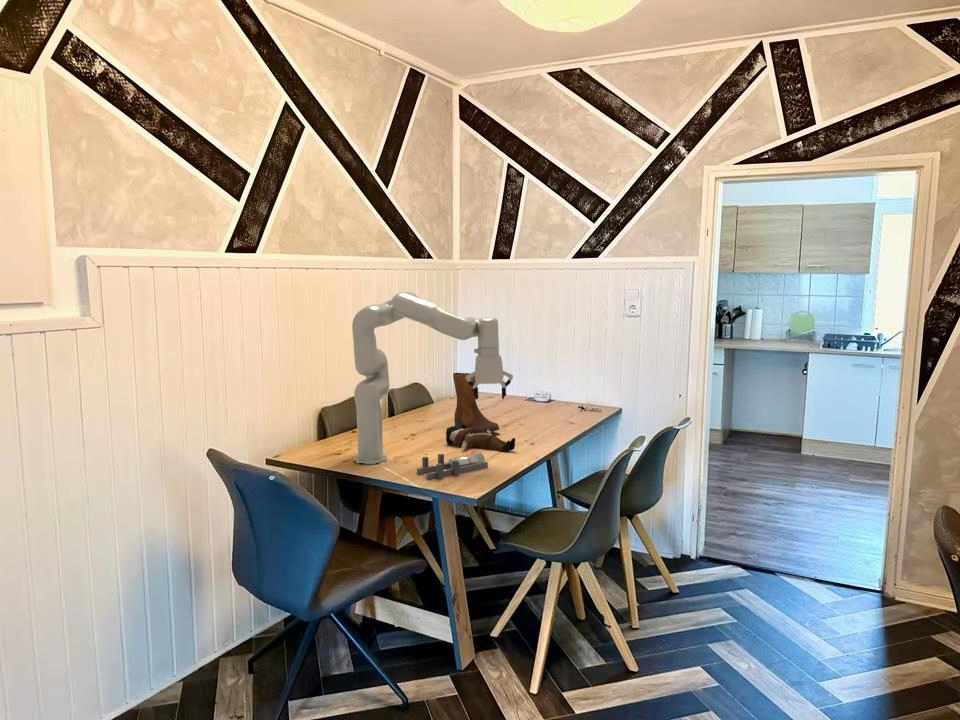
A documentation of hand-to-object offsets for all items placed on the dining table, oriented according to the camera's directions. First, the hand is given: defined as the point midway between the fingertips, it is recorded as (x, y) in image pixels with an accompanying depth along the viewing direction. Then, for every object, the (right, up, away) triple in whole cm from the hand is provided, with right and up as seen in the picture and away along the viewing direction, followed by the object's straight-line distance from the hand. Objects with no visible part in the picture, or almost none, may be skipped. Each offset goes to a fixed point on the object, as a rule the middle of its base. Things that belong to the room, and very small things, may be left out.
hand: (490, 398), depth 231 cm
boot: (-6, -19, +58) cm, 61 cm away
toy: (-4, -23, +30) cm, 38 cm away
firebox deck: (-13, -27, -3) cm, 30 cm away
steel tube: (-8, -25, 0) cm, 27 cm away
